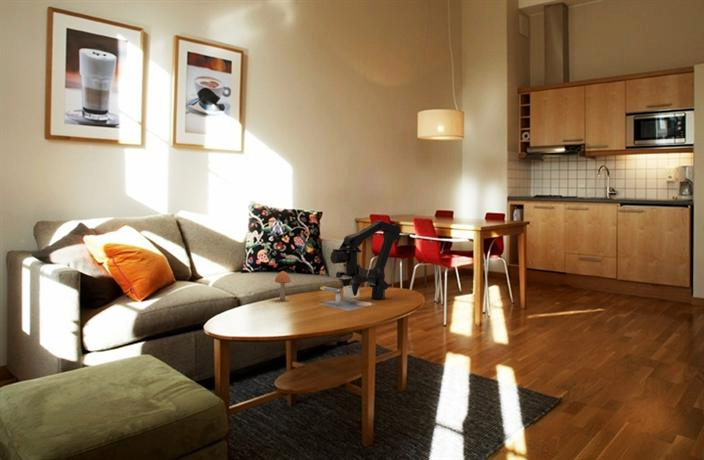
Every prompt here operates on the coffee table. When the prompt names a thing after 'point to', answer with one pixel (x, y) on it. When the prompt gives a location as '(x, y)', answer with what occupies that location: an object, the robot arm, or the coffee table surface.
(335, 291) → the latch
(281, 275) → the mushroom
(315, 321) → the coffee table surface
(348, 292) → the beige cube
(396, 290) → the coffee table surface
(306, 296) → the coffee table surface
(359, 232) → the robot arm
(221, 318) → the coffee table surface
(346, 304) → the board
